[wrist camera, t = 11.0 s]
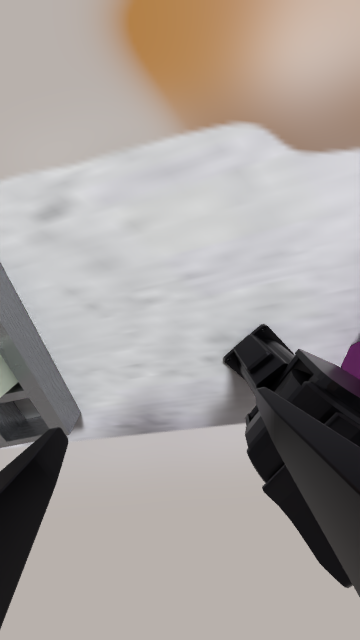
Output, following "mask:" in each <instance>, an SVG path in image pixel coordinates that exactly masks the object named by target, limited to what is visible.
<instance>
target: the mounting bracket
mask: <svg viewBox="0 0 360 640" xmlns="http://www.w3.org/2000/svg"><path fill="white" fill-rule="evenodd" d="M342 369H343V370H345V371H347V372H348V373H350V374H351V375H353V376H355V377H356V378H358V379H360V342H357V343H355V344H354V345H352V346H351V347H350V348H349V350H348V352H347V355H346V357H345V359H344V361H343V363H342Z"/></svg>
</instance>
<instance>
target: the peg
mask: <svg viewBox="0 0 360 640" xmlns="http://www.w3.org/2000/svg"><path fill="white" fill-rule="evenodd" d="M17 383H18V380H17V379H16V377H15V376H14V374H13V373H12V371H11V370H10V368H9V367H8V365H7V364H6V362H5V361H4V359H3V358H2V356H1V355H0V398H1V397H2V396H3V395H4V394H5V393H6V392H7V391H9V390H10V389H11V388H12V387H13V386H14V385H15V384H17Z"/></svg>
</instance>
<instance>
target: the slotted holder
mask: <svg viewBox="0 0 360 640" xmlns="http://www.w3.org/2000/svg"><path fill="white" fill-rule="evenodd" d="M0 355H1V356H2V358H3V359H4V361H5V362H6V364H7V365H8V367H9V368H10V370H11V371H12V373H13V374H14V376H15V377H16V379H17V380H18V383H17V384H15V385H14V386H13V387H12V388H11V389H10V390H9V391H7V392H6V393H5V394H4V395H3V396H2V397H1V398H0V448H2V447H8V446H13V445H18V444H23V443H28V442H33V441H36V440H37V439H38V438H40V437H41V436H42V435H43V434H44V433H45V432H46V431H48V430H49V429H51V428H55V427H61V428H62V430H63V431H64V433H65V434H66V435H69V434H70V432H71V431H72V429H73V427H74V425H75V423H76V421H77V419H78V418H79V416H80V414H81V412H80V410H79V409H78V407H77V405H76V403H75V401H74V399H73V397H72V396H71V394H70V392H69V390H68V388H67V386H66V384H65V383H64V381H63V379H62V377H61V375H60V373H59V371H58V370H57V368H56V366H55V364H54V362H53V360H52V358H51V357H50V355H49V353H48V351H47V349H46V347H45V345H44V344H43V342H42V340H41V338H40V336H39V334H38V332H37V330H36V329H35V327H34V325H33V323H32V321H31V319H30V317H29V316H28V314H27V312H26V310H25V308H24V306H23V304H22V303H21V301H20V299H19V297H18V295H17V293H16V291H15V290H14V288H13V286H12V284H11V282H10V280H9V278H8V277H7V275H6V273H5V271H4V269H3V267H2V265H1V264H0ZM25 398H29V399H30V400H31V402H32V403H33V405H34V406H35V408H36V409H37V411H38V412H39V414H40V415H41V416H40V417H35V418H30V419H25V418H24V416H23V415H22V414H21V412H20V411H19V409H18V408H17V407H16V405H15V404H14V402H13V401H15V400H20V399H25Z"/></svg>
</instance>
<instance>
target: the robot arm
mask: <svg viewBox="0 0 360 640" xmlns="http://www.w3.org/2000/svg"><path fill="white" fill-rule="evenodd" d="M264 327H265V329H264V330H262V329H263V328H264ZM295 354H296V355H295V356H294V354H293V352H292V351H291V350H290V349H289V348H288V347H287V346H286V345H285V344H284V343H283V342H282V341H281V340H280V339H279V338H278V337H277V336H276V334H275V333H274V332H273V331H272V330H271V329H270V328H269V327H268V326H267V325H265V324H262V325H260V326H259V327H258V328H257V329H256V330H254V331H253V332H252V333H251V334H250V335H248V336H247V337H246V338H245V339H244V340H242V341H241V342H240V343H239V344H238V345H237V346H236V347H234V349H233V350H231V351H230V352H229V353H228V354H227V355H226V356H225V357H224V361H225V363H226V364H227V365H229V366H230V367H231V368H232V369H233V370H235V371H236V372H237V373H238V374H239V375H240V376H242V377H243V378H244V379H245V380H246V381H247V383H248V385H249V386H250V388H251V390H252V391H253V393H254V395H255V396H256V404H257V405H256V406H255V408H254V409H253V410H252V412H251V413H250V414H248V415H247V416H246V426H247V427H246V432H245V436H246V440H247V445H248V449H247V454H248V456H249V458H250V460H251V462H252V464H253V466H254V468H255V469H256V471H257V472H258V474H259V475H260V477H261V478H262V479H263V481H264V482H265V483H266V484H265V485H264V486H263V487H262V488H263V491H264V492H265V493H266V494H267V495H268V496H269V497H270V498H271V499H272V500H273V501H274V502H275V503H276V504H277V505H279V507H280V508H281V509H282V510H283V512H284V513H285V514H286V515H287V516H288V518H289V519H290V520H291V521H292V523H293V524H294V526H295V527H296V528H297V530H298V531H299V533H300V534H301V536H302V537H303V539H304V540H305V542H306V543H307V545H308V546H309V548H310V549H311V551H312V552H313V554H314V555H315V557H316V559H317V560H318V561H319V563H320V564H321V565H322V566H323V567H324V568H325V569H326V570H327V571H328V572H329V573H330V574H331V575H332V576H333V577H334V578H335V579H336V580H337V581H338V582H340V584H342V585H343V586H344V587H347V588H349V587H351V586H352V585H353V586H354V588H355V589H356V591H357V593H358V595H359V597H360V379H358V378H356V377H355V376H353V375H351V374H350V373H348V372H347V371H345V370H343V369H342V368H340V367H339V366H337V365H335V364H332V363H330V362H328V361H326V360H323V359H321V358H319V357H317V356H314V355H312V354H310V353H308V352H305V351H303V350H301V349H298V350H297V352H296V353H295ZM227 359H229V360H227ZM67 445H68V438H67V436H66V434H65V433H64V431H63V430H62V428H61V427H55V428H51V429H49V430H48V431H46V432H45V433H44V434H43V435H42V436H41V437H40V438H38V439H37V440H36V441H35V442H34V443H33V444H31V445H30V446H29V447H28V448H27V449H26V450H25V451H23V453H21V454H20V455H19V456H18V457H16V458H15V459H14V460H13V461H12V462H11V463H10V464H8V465H7V466H6V467H5V468H4V469H3V470H1V471H0V629H1V626H2V623H3V621H4V618H5V615H6V613H7V610H8V608H9V605H10V603H11V600H12V597H13V595H14V592H15V590H16V587H17V584H18V582H19V579H20V577H21V574H22V571H23V569H24V566H25V564H26V561H27V558H28V556H29V553H30V551H31V548H32V545H33V543H34V540H35V538H36V535H37V532H38V530H39V527H40V525H41V522H42V519H43V517H44V514H45V512H46V509H47V506H48V504H49V501H50V499H51V496H52V493H53V491H54V488H55V485H56V482H57V479H58V476H59V473H60V469H61V466H62V462H63V459H64V455H65V452H66V449H67Z"/></svg>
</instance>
